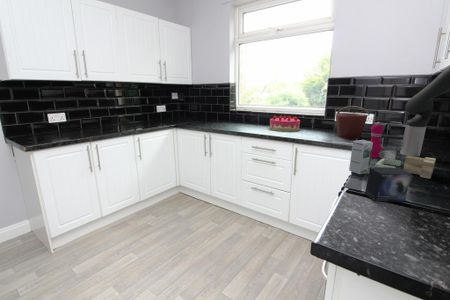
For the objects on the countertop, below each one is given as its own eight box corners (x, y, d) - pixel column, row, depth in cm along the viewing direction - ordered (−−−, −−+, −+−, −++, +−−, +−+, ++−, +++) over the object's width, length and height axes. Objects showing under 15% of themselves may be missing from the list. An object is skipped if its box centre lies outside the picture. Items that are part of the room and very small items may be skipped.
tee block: (405, 168, 114) (408, 154, 113) (432, 173, 107) (435, 158, 106) (401, 173, 107) (404, 158, 106) (430, 178, 101) (433, 163, 99)
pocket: (382, 162, 123) (383, 157, 122) (400, 165, 118) (401, 161, 117) (374, 169, 112) (375, 164, 112) (393, 173, 107) (394, 167, 107)
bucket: (372, 139, 183) (377, 107, 177) (350, 141, 176) (355, 107, 170) (346, 134, 206) (350, 105, 199) (326, 135, 198) (330, 105, 192)
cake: (266, 127, 239) (266, 114, 236) (292, 127, 243) (293, 114, 239) (274, 131, 212) (275, 118, 209) (304, 131, 216) (305, 118, 212)
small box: (374, 202, 78) (380, 173, 76) (363, 194, 85) (368, 166, 82) (406, 202, 78) (412, 173, 76) (392, 194, 85) (398, 167, 82)
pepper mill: (362, 155, 136) (367, 121, 131) (370, 154, 139) (376, 120, 134) (374, 158, 130) (380, 122, 125) (382, 157, 132) (389, 122, 128)
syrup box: (359, 174, 104) (365, 143, 101) (348, 170, 110) (352, 140, 106) (368, 173, 107) (373, 142, 103) (356, 169, 112) (361, 139, 108)
